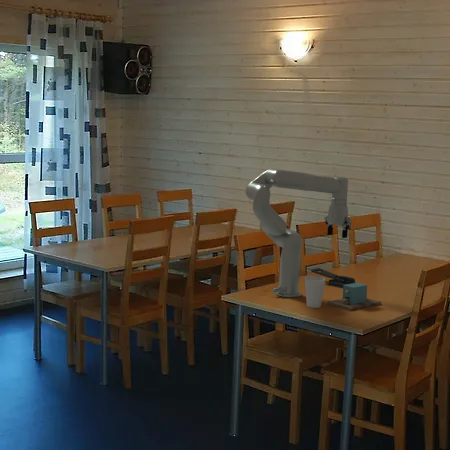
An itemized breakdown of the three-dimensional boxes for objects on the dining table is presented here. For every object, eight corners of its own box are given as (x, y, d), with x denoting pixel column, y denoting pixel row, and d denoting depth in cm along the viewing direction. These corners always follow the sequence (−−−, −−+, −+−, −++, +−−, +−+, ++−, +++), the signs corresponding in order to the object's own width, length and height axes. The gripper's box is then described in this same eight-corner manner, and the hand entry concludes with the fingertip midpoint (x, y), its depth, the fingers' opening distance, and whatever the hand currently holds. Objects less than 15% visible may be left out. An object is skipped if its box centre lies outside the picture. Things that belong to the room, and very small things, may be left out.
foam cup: (327, 306, 330) (329, 278, 328) (316, 309, 323) (317, 281, 321) (310, 302, 336) (312, 275, 334) (299, 305, 329) (300, 278, 328)
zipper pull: (318, 267, 386) (359, 274, 370) (317, 279, 387) (358, 287, 371) (309, 269, 379) (350, 277, 363) (308, 281, 380) (350, 290, 364)
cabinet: (350, 304, 329) (351, 287, 328) (341, 301, 334) (342, 285, 333) (366, 301, 336) (367, 285, 335) (356, 298, 341) (357, 282, 340)
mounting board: (349, 310, 323) (350, 304, 323) (327, 304, 334) (327, 297, 334) (381, 304, 337) (381, 297, 336) (358, 298, 348) (358, 291, 347)
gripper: (321, 200, 356) (319, 234, 359) (347, 204, 343) (345, 239, 345) (331, 199, 361) (329, 233, 363) (357, 203, 348) (355, 238, 350)
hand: (337, 236), depth 354 cm, fingers open, 9 cm apart
